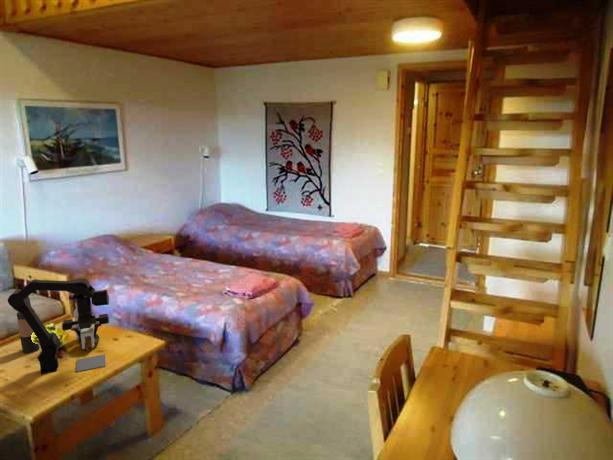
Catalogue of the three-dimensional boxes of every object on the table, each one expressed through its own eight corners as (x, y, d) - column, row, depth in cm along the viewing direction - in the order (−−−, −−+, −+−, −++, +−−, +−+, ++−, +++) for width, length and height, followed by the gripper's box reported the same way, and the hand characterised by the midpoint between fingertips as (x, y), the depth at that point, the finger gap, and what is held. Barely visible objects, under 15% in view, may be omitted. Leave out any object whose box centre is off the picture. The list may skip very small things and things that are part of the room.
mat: (75, 372, 197) (75, 371, 197) (77, 360, 208) (77, 359, 208) (105, 366, 202) (105, 365, 202) (105, 354, 213) (105, 354, 213)
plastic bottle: (77, 337, 232) (73, 301, 227) (91, 335, 233) (87, 299, 229) (75, 343, 225) (70, 305, 221) (89, 341, 227) (85, 304, 223)
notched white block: (82, 342, 205) (81, 328, 204) (94, 340, 207) (93, 326, 206) (82, 348, 199) (80, 334, 198) (94, 346, 201) (93, 332, 200)
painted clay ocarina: (97, 339, 230) (96, 324, 228) (102, 352, 218) (101, 337, 216) (76, 342, 225) (75, 328, 223) (80, 357, 212) (79, 341, 210)
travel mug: (38, 352, 216) (33, 313, 212) (20, 355, 214) (14, 315, 209) (41, 345, 223) (36, 307, 219) (24, 348, 221) (18, 310, 216)
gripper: (59, 317, 188) (63, 351, 192) (107, 309, 196) (110, 342, 199) (61, 308, 198) (65, 340, 202) (106, 301, 206) (110, 332, 209)
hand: (88, 339), depth 203 cm, fingers closed on notched white block, 5 cm apart
